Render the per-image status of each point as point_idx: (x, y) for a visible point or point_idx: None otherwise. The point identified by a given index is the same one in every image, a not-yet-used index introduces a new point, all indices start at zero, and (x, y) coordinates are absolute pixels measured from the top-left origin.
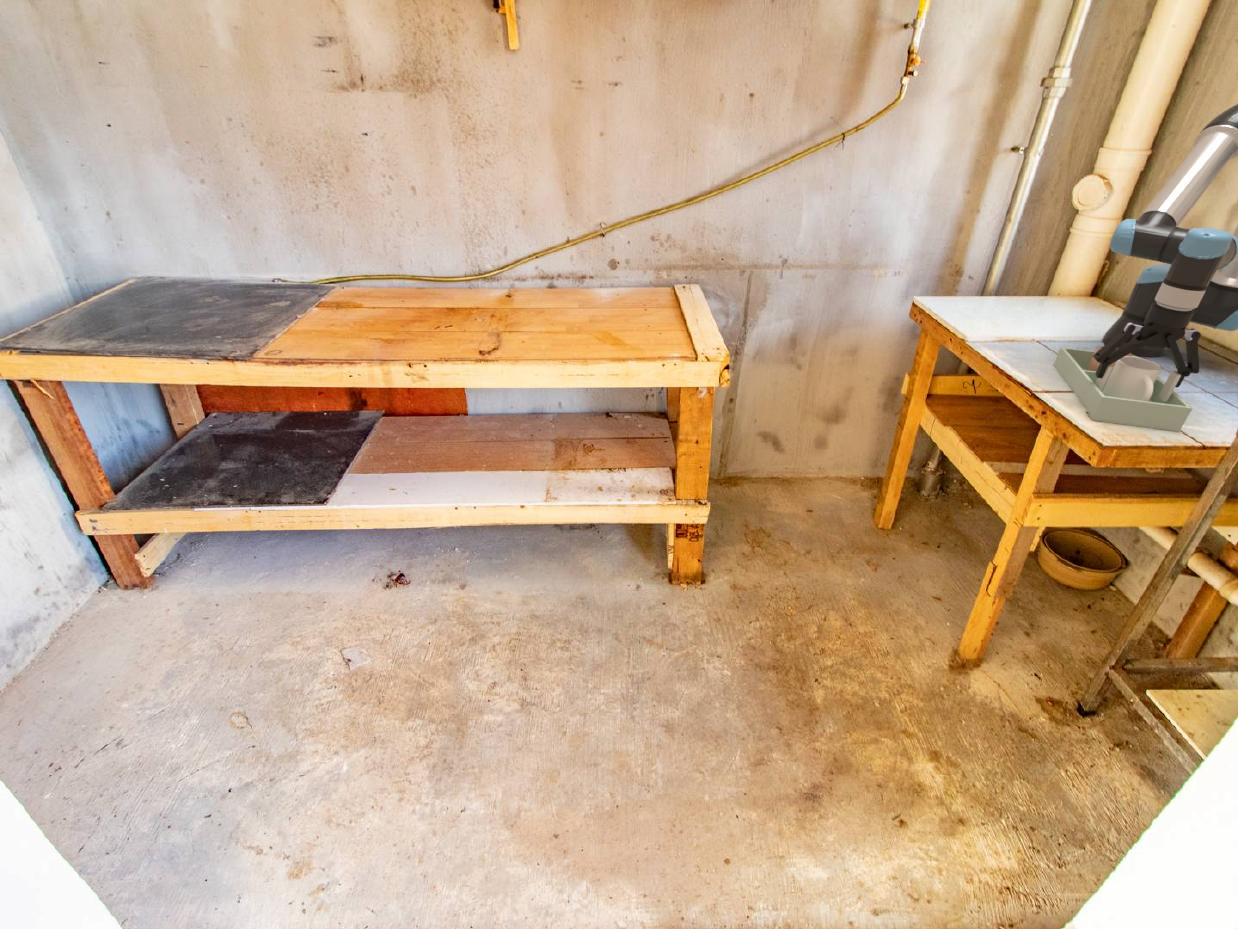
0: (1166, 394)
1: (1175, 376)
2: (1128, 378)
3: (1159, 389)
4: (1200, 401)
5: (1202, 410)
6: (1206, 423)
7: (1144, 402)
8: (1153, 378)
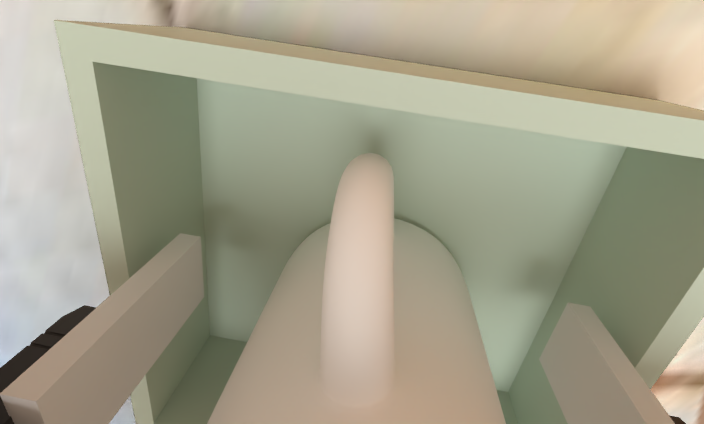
0: (175, 266)
1: (63, 390)
2: (474, 390)
3: (170, 361)
4: (17, 343)
5: (22, 278)
6: (27, 159)
7: (443, 81)
8: (266, 379)
